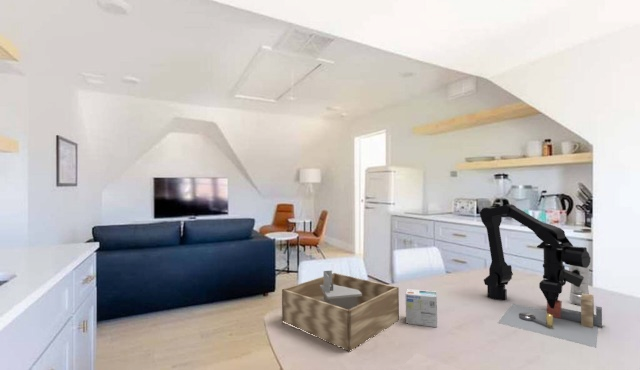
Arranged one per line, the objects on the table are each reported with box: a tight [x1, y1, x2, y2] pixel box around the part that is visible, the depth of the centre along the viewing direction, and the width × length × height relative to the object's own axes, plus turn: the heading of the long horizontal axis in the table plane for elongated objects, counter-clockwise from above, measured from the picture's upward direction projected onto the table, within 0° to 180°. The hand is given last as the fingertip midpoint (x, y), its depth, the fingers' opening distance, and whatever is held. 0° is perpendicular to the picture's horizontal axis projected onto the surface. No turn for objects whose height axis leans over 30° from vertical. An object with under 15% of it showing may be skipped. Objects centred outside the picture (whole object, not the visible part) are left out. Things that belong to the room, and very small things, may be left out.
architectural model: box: [320, 270, 362, 310], centre depth 114 cm, size 23×24×18 cm
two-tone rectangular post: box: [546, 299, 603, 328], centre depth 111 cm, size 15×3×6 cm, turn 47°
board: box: [497, 303, 599, 349], centre depth 110 cm, size 26×24×1 cm
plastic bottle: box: [568, 265, 590, 307], centre depth 127 cm, size 6×7×20 cm
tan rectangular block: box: [580, 293, 595, 328], centre depth 109 cm, size 3×8×9 cm, turn 137°
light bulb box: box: [405, 288, 438, 328], centre depth 113 cm, size 11×7×11 cm, turn 71°
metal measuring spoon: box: [519, 313, 553, 328], centre depth 110 cm, size 5×11×4 cm, turn 19°
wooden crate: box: [281, 272, 400, 352], centre depth 114 cm, size 31×30×12 cm
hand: (553, 304), depth 115 cm, fingers open, 9 cm apart
